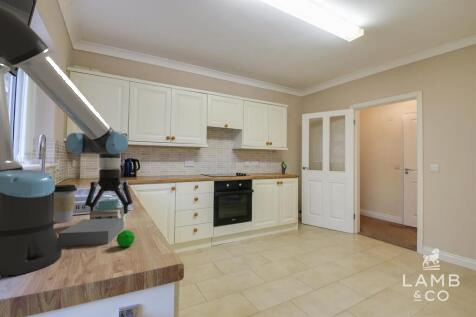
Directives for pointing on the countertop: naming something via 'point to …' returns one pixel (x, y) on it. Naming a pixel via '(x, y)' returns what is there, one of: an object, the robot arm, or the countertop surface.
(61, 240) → the dock
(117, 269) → the countertop surface
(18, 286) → the countertop surface
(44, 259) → the robot arm
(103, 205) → the teal block
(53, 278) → the countertop surface
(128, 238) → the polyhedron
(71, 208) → the coffee cup
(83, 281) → the countertop surface
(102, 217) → the pallet
